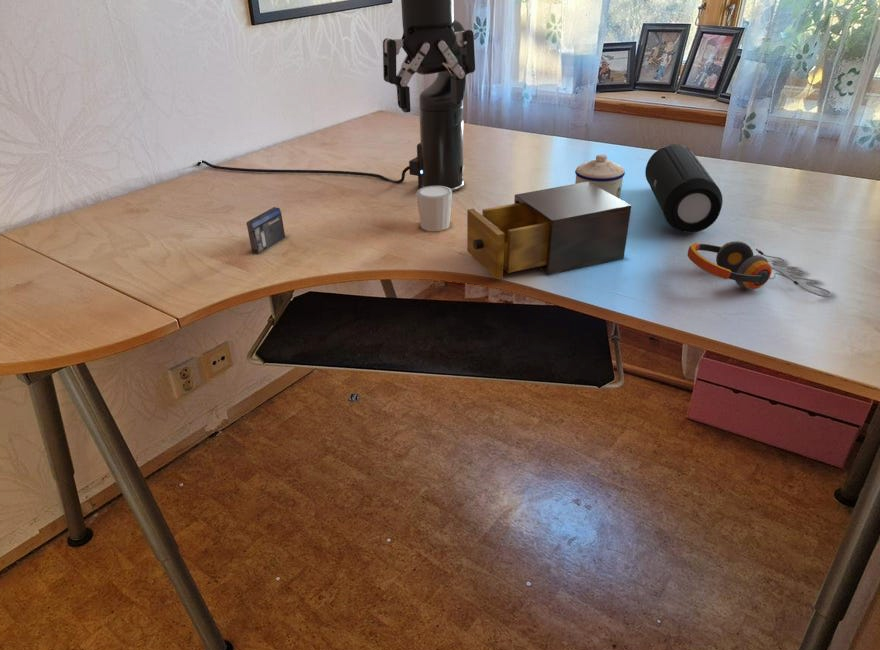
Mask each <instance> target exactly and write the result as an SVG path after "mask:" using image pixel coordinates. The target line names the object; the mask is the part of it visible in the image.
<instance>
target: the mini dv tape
mask: <svg viewBox="0 0 880 650" xmlns="http://www.w3.org/2000/svg"><path fill="white" fill-rule="evenodd" d="M245 224H246V229H247V233H248V238H249V244H250V249H251V253H255V254H261V253H263V252H264V251H265V250H267V249H269V248H270V247H273V246H274V245H275V244H276V243H279V242H280V241H281V240H283V239H285V238H286V234H285V227H284V221H283V216H282V211H281V208H280V207H276V206H273V207H271V208H270V209H268V210H266V211H264V212H263V213H260V214H258V215H257V216H255V217H253V218H251V219H249V220H248V221H246V223H245Z"/></svg>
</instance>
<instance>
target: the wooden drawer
mask: <svg viewBox="0 0 880 650" xmlns="http://www.w3.org/2000/svg"><path fill="white" fill-rule="evenodd" d="M466 212H467V214H466V215H467V216H466V217H467V219H466V220H467V222H466V223H467V227H466V228H467V230H466V231H467V232H466V235H467V237H466V238H467V239H466V240H467V241H466V249H467V250H466V251H467V253H468V254H469V255H470V256H472V257H473V258H474V259H475V261H477V262H478V263H479V264H480V265H481V266H482V267H483V268H484V269H485V270H486V271H487V272H488V273H490V275H491V276H492V277H493V278H495V279H496V280H499V279H503V278H504V271H506V273H508V274H510V273H514V272H519V271H524V270H528V269H533V268H539V266H543V265H547V252H548V240H549V227H550V223H548V222H547V221H546V220H544V219H543V218H541V217H540V216H538V215H537V214H536V213H534V212H533V211H531V210H530V209H528V208H527V207H526V206H524V205H523V204H521V203H516V204H514V203H510V204H505V205H500V206H496V207H488V208H484V209H482V212H481V213H480V212H478V211H477V210H476V209H475V208H468V209H467V210H466Z"/></svg>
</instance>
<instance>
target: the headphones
mask: <svg viewBox="0 0 880 650" xmlns="http://www.w3.org/2000/svg"><path fill="white" fill-rule="evenodd" d="M699 251H705V252H710V253H714V254H716V255H715V256H716V257H715V263H714V262H712V261H710V260H708V259H706V258H705V257H704V256H702V255H701V254H700V253H699ZM755 251H756V252H757V253H758V254H755V255H754V252H753V249H752V248H751V247H750V245H748V244H747V243H746V242H743V241H739V240H735V241H730V242H726V243H724V244H723V245H722V246H719V245H714V244H710V243H698V242H693V243H692V244H691V245H690V246H689V247H688V249H687V257H688V259H689V260H690V261H691V262H692V263H693V264H694V265H696V267H698V268H700V269H701V270H702V271H705V272H707V273H708V274H711V275H713V276H715V277H717V278H721V279H724V280H732V281H735V283H736V285H738V287H741V288H742V289H750V290H757V289H759V288H762V286H764V285H766V283H767V282H768V281H769V280H774V279H775V278H776V276H777V275H779V276H782V277H783V278H786V279H788V280H789V281H792V283H793V284H794V285H796V286H798V287H800V288H801V289H803V290H804V291H805V292H808V293H810V294H812V295H815V296H818V297H822V298H823V297H824V298H830V297H832V296H833V295H832V293H831V291H829V290H828V289H825V288H822V287H820V286H817V285H814V284H819V283H820V282H819V280H816V279H811V278H806V277H805V278H803V277H804V276H803V274H805V271H804V270H801V269H799V267H796V266H791V265H789V264H788V263H787V262H786V260H785V259H783V258H782V257H779V256H774V255H773V256H772V255H767V254H765V253H764V252H763V251H762V250H759V249H758V248H755ZM767 258H772V260H771V264H770V263H769V261H768V259H767ZM775 259H776V260H775ZM771 265H773V266H776V267H782V268H786V269H787V273H789V275H787V274H786V273H784V272H782V271H781V270H780V269H777V268H775V267H772V266H771ZM773 270H774V271H776V272H774V273H773V276H772V272H773ZM771 276H772V277H771ZM794 279H798V280H803V281H805V282H804V283H805V284H806V285H807V286H809V287H813V288H815V289H818V290H821V291H824V292H827V293H828V295H827V294H826V295H825V294H820V293H817V292H814V291H811V290H809V289H808V288H806V287H804V286H803V285H801V284H800V283H799V282H798V281H797V280H794ZM813 283H814V284H813Z"/></svg>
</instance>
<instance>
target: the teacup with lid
mask: <svg viewBox="0 0 880 650" xmlns="http://www.w3.org/2000/svg"><path fill="white" fill-rule="evenodd" d="M575 168H576V169H575V171H574V173H575V183H574V184H577V183H583V182H590V183H591V184H593V185H595V186H597V187H599V188H601V189H602V190H604V191H606V192H608V193H610V194H612V195H613V196H615V197H617V198H619V199H621V193H622V186H623V180H624V177H625V174H626V172H625V169H624V167H623V166H622V165H620V164H618V163H616V162H613V161H612V160H611V159H608V156H607V155H606V154H603V153H599V154H596V155H595V159H591V160H589V161H586V162H583V163H581V164H579V165H577V167H575Z"/></svg>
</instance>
